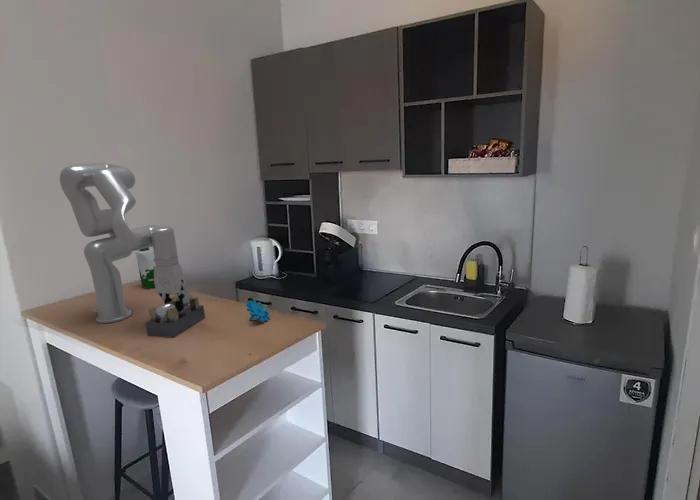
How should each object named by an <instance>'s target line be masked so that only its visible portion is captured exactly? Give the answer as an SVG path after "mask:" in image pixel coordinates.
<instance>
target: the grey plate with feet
mask: <svg viewBox="0 0 700 500" xmlns="http://www.w3.org/2000/svg"><path fill="white" fill-rule="evenodd" d="M170 298H171V299H172V300H174V299H176V298H175V295H174V296H172V297H170ZM189 301H190V303H189V304H188V305H186V306H184V309H183V310H181V311H179V312H177V309H174V308H171V309H169V310H167V312H168V316H166V317H164V318H162V319H158V318H156V317H155V315H154V310H155V309H157V308H158V307H154V306H152V307H149V308H148V314H149V320H147V321H145V327H146V333H147V336H148V337H149V336H151V337H164V338H176V337H177V336H179V335H181V334H182V333H184V332H185V331H186V330H188V329H189V328H191V327H193V326H195V325H196V324H197V323H199V322H201V321H202V320H204V319H205V318H206V315H205V308H204V304H203V305H202V304H200V302H199V297H198V296H192V297H191V298H189Z"/></svg>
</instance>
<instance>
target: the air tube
mask: <svg viewBox="0 0 700 500" xmlns="http://www.w3.org/2000/svg"><path fill="white" fill-rule="evenodd" d="M191 297H193V295H191V294H190V292H189V293H188V294H186V295H185V297H184V299H183V306H186V305H190V301H189V298H191ZM175 301H177V300H176V299H174V300H172V301H170V302H168V303H166V304H165V303H164V304H162V305H161V306H158V307H156V308H157V309H155V310H154V315H155V317H156V318H158V319H162V318H164V317H166V316H168V312H167V310H169V309H171V308H174V309H176V304H175Z"/></svg>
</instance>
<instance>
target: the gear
mask: <svg viewBox="0 0 700 500" xmlns="http://www.w3.org/2000/svg"><path fill="white" fill-rule="evenodd" d="M256 303H257V304H256ZM261 305H262V303H261V302H260V301H259V302H257V300H255V299H253V300H248V302H247V303H246V304H245V306H246V311H247V312H249V316H250V317H249V318H248V321H250V320H251V321H253V319H254V320H256V321H258V319H259V322H260V323H264V322H265V321H266V322H268V321H269V319H270V315H269V314H270V312H269V311H268V310H266V309H267V308H266V307H267V305H266V304H264V305H263V306H261Z"/></svg>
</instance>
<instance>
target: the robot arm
mask: <svg viewBox="0 0 700 500" xmlns="http://www.w3.org/2000/svg"><path fill="white" fill-rule="evenodd" d="M59 184H60V188H61V189H62V192H63V193H64V195H65V196H66V198H67V199H68V201H69V204H70V206H71V208H72V211H73V214H74V216H75V219H76V222H77V225H78V228H79V229H80V232H81V234H82V235H83V236H85V237H87V238H92V237H93V238H94V237H99V236H104V235H109V236H108V237H103V238H99V239H95V240H92V241H90V242H88V243H86V245H85V246H84V248H83V255H84V257H85V260H86V262H87V265H88V267H89V270H90V273H91V278H92V283H93V288H94V292H95V298H96V303H97V306H95V308H94V309H93V313H97V314H98V315H97V316H96V317H95V321H96V322H97V323H99V324H103V323H104V324H109V323H110V324H111V323H114V322H115V323H116V322H118V321H122V320H125V319H128V318H130V316H132V314H133V312H132V310H131V309H128V307H127V304H126V298H125V293H124V288H123V283H122V277H121V273H120V271H119V269H118V268H117V266H115V264H114V263H113V262H115V261H119V260H122V259H126V258H128V257H130V256H131V255H132V253H133V251H134V252H135V251H139V250H141V249H144V248H147V247H149V248H151V247H152V249H153V250H154V256H155V258H154V262H156V266H155V267H154V283H155V288H154V292H155V293H156V294H158V296H159V297H161V300H162V301H164V304H166V303H168V302H170V301H172V299H171V298H172V297H171V295H174V296H175V298H176V300H177V301H175V304H176V309H177V312H179V311H181V310H183V309H184V306H183V299H184V297H185V295H186V294H188V293H189V294H190V290H189V289H188V287H187V286H186V279H185V275H184V272H183V268H182V265H181V264H180V262H179V256H178V255H179V254H178V250H177V242H176V237H175V230H174V228H173V227H171V226H168V225H167V226H165V225H164V226H160V225H156V224H151V225H145V226H140V227H135V228H132V227H131V226H130V224H129V223H128V222H127V220H126V216H125V214H127V213H128V212H130V211H131V210H132V209H133V208H134V206H135V205H136V203H137V200H136V198H135V196H134V195H133V194H132V193H131V191H130V189H131V188H133V187H134V186H135V184H136V178H135V175H134V173H133V172H132V170H131V169H130V168H128V167H126V166H123V165H117V164H113V163H107V162H92V163H77V164H72V165H67V166H65V167H63V169H62V170H61V171H60V174H59ZM88 187H89V188H90V187H91V188H92V187H95V188H96V189H97V191H98V192H99V194H100V195H101V196H102V198H103V199H104V200H105V202H106V204H107V205H108V206H109V207H110V208H106V209H101V208H100V206H99V204H98V200H97V198H96V197H95V196H94V195H93V194H92V193H91V192H90V191H89V190H87V189H86V188H88Z"/></svg>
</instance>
